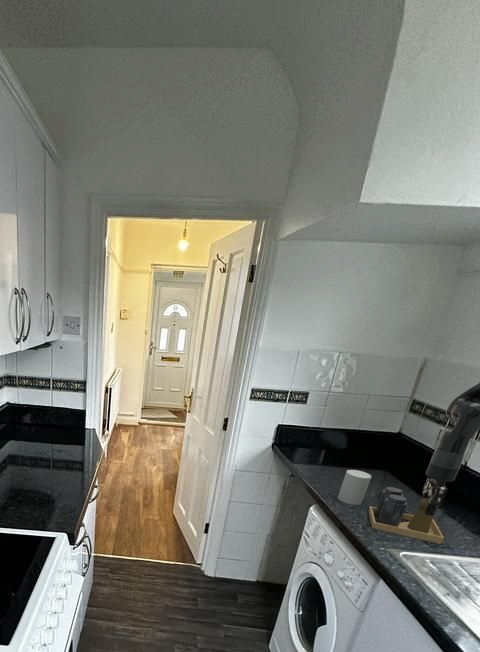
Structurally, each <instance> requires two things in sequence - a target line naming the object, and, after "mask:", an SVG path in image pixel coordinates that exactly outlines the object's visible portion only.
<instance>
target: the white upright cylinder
mask: <svg viewBox="0 0 480 652" xmlns="http://www.w3.org/2000/svg"><path fill="white" fill-rule="evenodd" d="M371 480H372V475H371V474H369V473H367V472H366V471H362V470H359V469H358V470H357V469H347V470H346V472H345V474H344V478H343V480H342V484H341V486H340V489H339V493H338V495H337V500H339V501H340V502H342V503H344V504H348V505H351V506H360V505H362V504H363V500H364V498H365V496H366V493H367V490H368V487H369V484H370V482H371Z"/></svg>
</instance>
